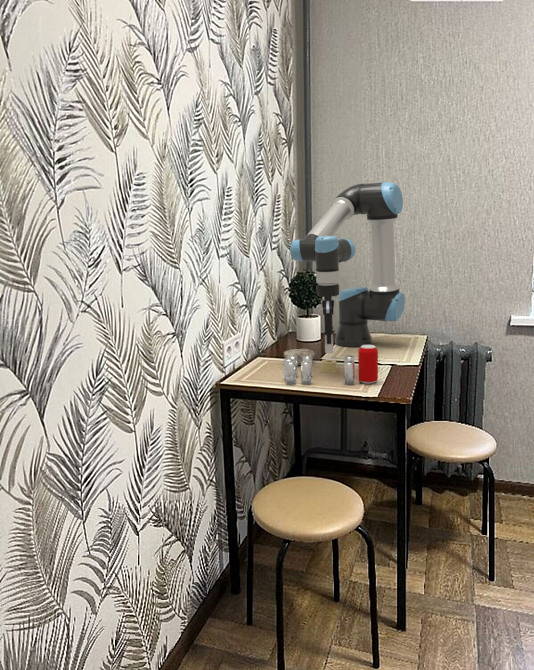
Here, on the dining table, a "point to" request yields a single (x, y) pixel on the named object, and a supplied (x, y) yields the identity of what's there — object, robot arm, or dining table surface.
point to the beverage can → (368, 364)
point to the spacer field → (306, 370)
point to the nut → (328, 366)
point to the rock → (299, 354)
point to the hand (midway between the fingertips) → (329, 352)
